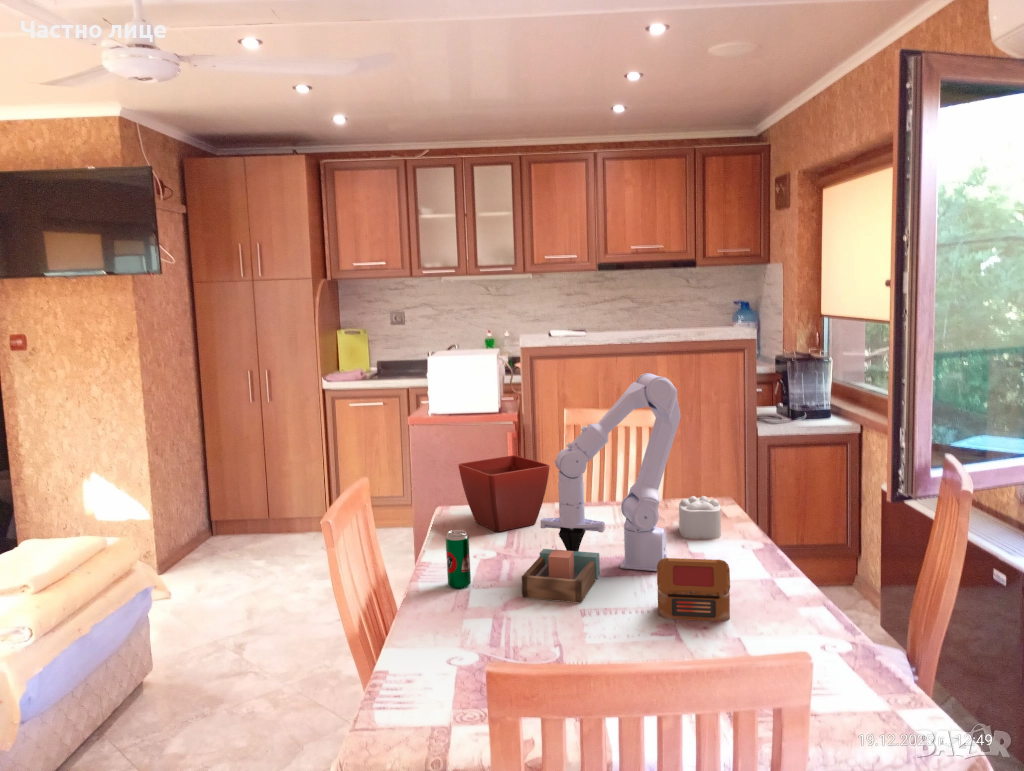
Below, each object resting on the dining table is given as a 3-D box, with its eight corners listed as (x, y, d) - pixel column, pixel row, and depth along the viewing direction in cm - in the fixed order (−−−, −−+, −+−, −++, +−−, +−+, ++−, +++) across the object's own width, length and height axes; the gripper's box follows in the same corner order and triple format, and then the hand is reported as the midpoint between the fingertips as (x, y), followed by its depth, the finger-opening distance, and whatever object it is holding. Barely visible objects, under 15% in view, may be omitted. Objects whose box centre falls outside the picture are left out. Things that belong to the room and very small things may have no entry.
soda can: (467, 590, 165) (465, 536, 164) (445, 589, 166) (442, 535, 165) (473, 581, 170) (471, 529, 169) (451, 580, 171) (449, 528, 170)
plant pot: (517, 509, 226) (514, 454, 224) (553, 525, 210) (551, 464, 208) (459, 521, 216) (456, 463, 215) (492, 538, 200) (490, 475, 198)
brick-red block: (569, 585, 162) (568, 558, 162) (549, 583, 164) (548, 556, 163) (574, 577, 167) (573, 551, 166) (554, 576, 168) (553, 549, 167)
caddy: (595, 581, 167) (594, 561, 167) (581, 603, 156) (580, 581, 155) (540, 576, 172) (539, 557, 171) (522, 597, 160) (521, 576, 160)
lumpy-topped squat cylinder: (681, 538, 194) (680, 505, 193) (677, 523, 207) (677, 492, 206) (723, 539, 192) (723, 505, 191) (717, 523, 205) (716, 492, 204)
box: (760, 590, 160) (760, 536, 159) (778, 651, 133) (778, 586, 131) (625, 585, 166) (624, 532, 164) (615, 642, 139) (614, 580, 137)
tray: (599, 574, 171) (599, 553, 170) (584, 598, 157) (583, 575, 157) (544, 569, 175) (543, 548, 174) (524, 593, 162) (523, 570, 161)
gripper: (607, 499, 174) (608, 556, 176) (546, 495, 179) (548, 551, 180) (599, 507, 167) (601, 567, 169) (536, 503, 172) (539, 562, 174)
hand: (573, 560), depth 174 cm, fingers closed, pressing on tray
